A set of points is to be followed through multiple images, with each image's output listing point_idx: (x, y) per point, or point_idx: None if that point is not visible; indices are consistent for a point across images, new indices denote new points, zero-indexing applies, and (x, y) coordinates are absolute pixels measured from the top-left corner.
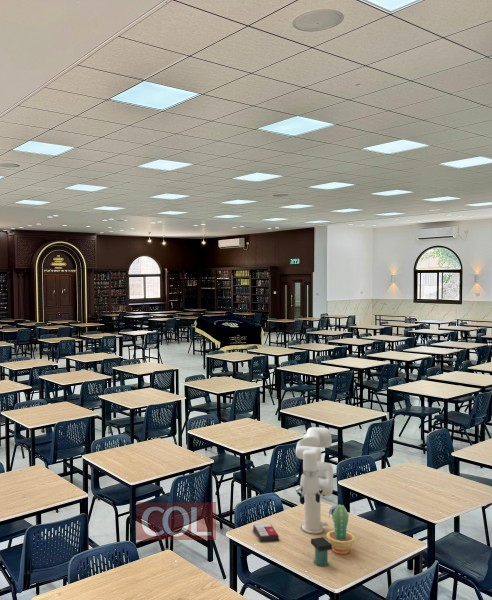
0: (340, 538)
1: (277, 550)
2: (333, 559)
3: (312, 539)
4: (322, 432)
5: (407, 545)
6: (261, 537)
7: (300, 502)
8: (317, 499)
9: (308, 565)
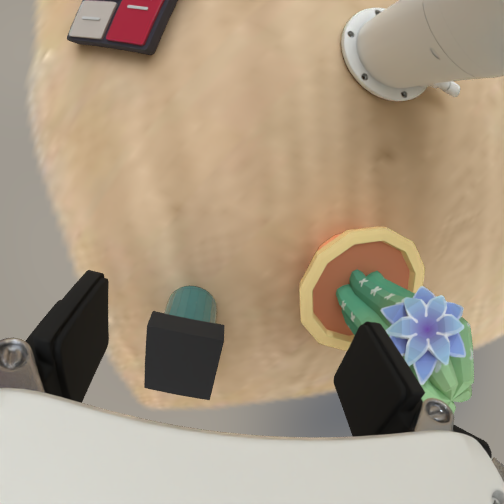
0: (343, 315)
1: (89, 139)
2: (257, 308)
3: (151, 334)
4: None
5: (496, 322)
6: (69, 40)
7: (89, 277)
8: (350, 391)
9: (135, 298)
